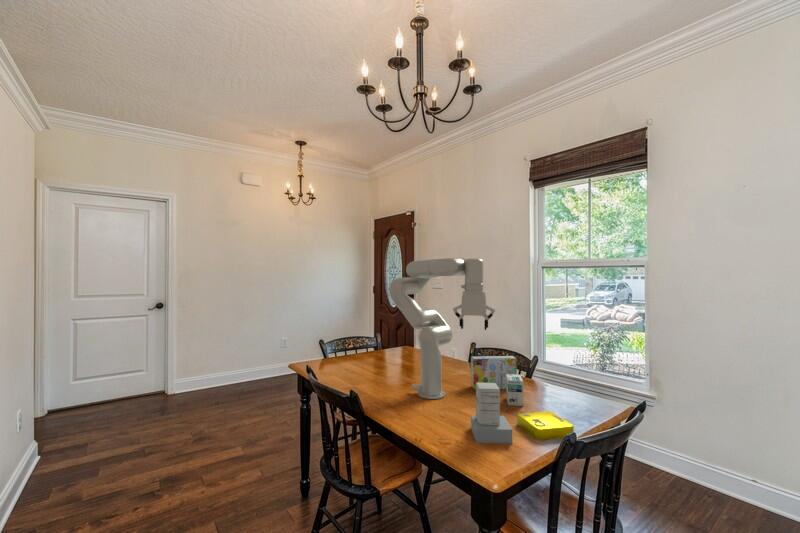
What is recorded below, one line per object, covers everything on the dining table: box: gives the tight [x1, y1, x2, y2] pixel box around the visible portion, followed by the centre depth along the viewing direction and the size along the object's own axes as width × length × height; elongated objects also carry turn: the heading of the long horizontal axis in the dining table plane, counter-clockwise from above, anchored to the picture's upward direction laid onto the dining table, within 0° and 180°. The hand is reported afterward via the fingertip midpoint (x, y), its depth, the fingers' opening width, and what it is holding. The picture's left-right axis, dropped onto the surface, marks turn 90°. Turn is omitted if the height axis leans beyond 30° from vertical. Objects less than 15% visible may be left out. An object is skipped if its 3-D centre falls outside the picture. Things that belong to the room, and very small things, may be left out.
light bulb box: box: [505, 374, 525, 407], centre depth 169 cm, size 11×7×11 cm, turn 168°
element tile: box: [516, 410, 575, 442], centre depth 139 cm, size 15×15×5 cm
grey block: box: [470, 414, 513, 444], centre depth 135 cm, size 12×12×5 cm
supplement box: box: [475, 383, 501, 425], centre depth 136 cm, size 7×7×13 cm
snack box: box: [470, 355, 518, 390], centre depth 188 cm, size 21×6×15 cm, turn 92°
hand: (473, 328), depth 161 cm, fingers open, 9 cm apart
